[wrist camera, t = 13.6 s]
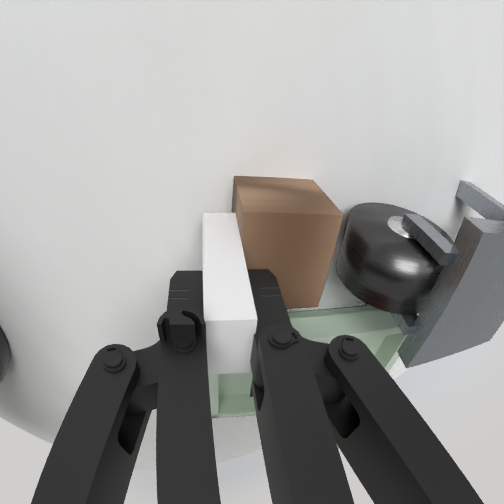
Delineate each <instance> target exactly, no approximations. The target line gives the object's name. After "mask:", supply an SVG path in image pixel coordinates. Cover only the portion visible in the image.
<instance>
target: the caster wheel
mask: <svg viewBox="0 0 504 504" xmlns="http://www.w3.org/2000/svg"><path fill="white" fill-rule="evenodd" d="M456 197H458V198H459V199H461V200H462V201H463V202H465V203H466V204H467V205H469V206H470V207H471V208H473V209H474V210H475V211H477V212H478V213H479V214H480V215H482V216H483V217H484V218H485V219H480V218H472V217H464V220H463V222H462V225H461V227H460V230H459V232H458V235H457V237H456V240H455V242H453V241H452V239H451V238H450V237H449V236H448V234H447V233H446V232H445V231H443V230H442V229H441V228H440V227H439V226H437V225H436V224H434V223H433V222H431V221H430V220H428V219H426V218H425V217H423V216H421V215H419V214H417V213H414V212H412V211H409V210H407V209H404V208H401V207H397V206H394V205H389V204H383V203H363V204H359V205H357V206H355V207H353V209H352V210H351V212H350V216H349V219H348V223H347V227H346V231H345V235H344V238H343V242H342V246H341V249H340V253H339V256H338V260H337V265H336V267H337V272H338V275H339V277H340V279H341V281H342V282H343V284H344V285H345V286H346V287H347V289H348V290H349V291H351V292H352V293H353V294H354V295H355V296H356V297H358V298H359V299H361V300H362V301H364V302H365V303H367V304H369V305H371V306H373V307H375V308H377V309H380V310H383V311H386V312H390V314H391V315H392V317H393V319H394V320H395V322H396V323H397V325H398V327H399V328H400V330H401V332H402V333H403V335H407V336H406V338H405V339H404V341H403V342H402V344H401V346H400V347H399V349H398V350H397V352H398V354H399V356H400V358H401V360H402V361H403V363H404V365H405V367H406V368H409V367H413V366H416V365H420V364H423V363H427V362H430V361H433V360H436V359H440V358H442V357H446V356H449V355H452V354H455V353H457V352H460V351H463V350H466V349H469V348H472V347H474V346H477V345H479V344H482V343H484V342H487V341H490V339H491V338H492V337H493V335H494V334H495V333H496V331H497V330H498V328H499V327H500V325H501V324H502V322H503V321H504V205H502V204H501V203H500V202H498V201H497V200H496V199H494V198H493V197H491V196H490V195H488V194H487V193H486V192H484V191H483V190H481V189H480V188H478V187H477V186H475V185H474V184H472V183H470V182H466V181H462V180H461V182H460V185H459V188H458V191H457V194H456ZM417 313H420V314H419V315H418V316H417Z"/></svg>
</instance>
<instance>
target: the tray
mask: <svg viewBox="0 0 504 504" xmlns="http://www.w3.org/2000/svg"><path fill="white" fill-rule="evenodd" d="M288 315H289V319H290V322H291V325H292V327H293V328H295V329H296V330H297V331H298V332H299V333H300V335H301V336H302V337H304V338H306V339H308V340H312V341H316V342H322V343H328V344H330V342H331V341H332V339H334V338H335V337H337V336H340V335H350V336H354V337H356V338H358V339H360V340H361V341H362V342H363V343H364V344H366V346H367V347H368V348H369V350H370V351H371V352H372V353H373V355H374V356H375V357H376V358H377V360H378V361H379V362H380V363H381V365H382V366H383V367H384V369H385V370H386V371H387V372H389V370H390V369H391V367H392V366H393V364H394V363H395V362H396V360H397V359H398V357H399V354H398V352H397V350H398V349H399V347H400V346H401V344H402V342H403V341H404V339H405V338H406V336H407V335H403V333H402V332H401V330H400V328H399V327H398V325H397V323H396V322H395V320H394V319H393V317H392V315H391V314H390V312H386V311H383V310H380V309H377V308H375V307H373V306H371V305H368V306H358V307H348V308H336V309H324V310H311V311H297V312H288ZM252 377H253V376H252V370H251V367H250V372H248V373H229V374H208V378H209V392H210V406H211V418H223V417H239V416H252V415H256V410H255V404H254V398H253V397H250V389H251V383H252Z"/></svg>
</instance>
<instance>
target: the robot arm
mask: <svg viewBox="0 0 504 504" xmlns="http://www.w3.org/2000/svg"><path fill="white" fill-rule="evenodd" d="M157 327H158V332H159V337H160V340H159V341H158V342H157V343H156V344H154V345H153V346H150V347H148V348H145V349H141V350H137V351H132V350H131V349H130V348H129V347H126V346H124V345H120V344H112V345H108V346H105V347H104V348H102V349H100V350H99V351H98V353H97V354H96V355H95V356H94V358H93V360H92V362H91V364H90V366H89V368H88V370H87V372H86V374H85V376H84V378H83V380H82V382H81V384H80V386H79V388H78V390H77V392H76V394H75V396H74V398H73V401H72V403H71V405H70V407H69V409H68V411H67V413H66V416H65V418H64V420H63V422H62V425H61V427H60V429H59V432H58V434H57V436H56V439H55V441H54V443H53V446H52V448H51V451H50V453H49V456H48V458H47V461H46V463H45V466H44V469H43V471H42V474H41V477H40V479H39V482H38V485H37V488H36V490H35V494H34V497H33V499H32V502H31V504H124V500H125V497H126V493H127V489H128V486H129V482H130V479H131V476H132V472H133V469H134V465H135V462H136V459H137V455H138V452H139V449H140V446H141V442H142V439H143V436H144V433H145V430H146V426H147V423H148V420H149V417H150V414H151V411H152V410H153V409H157V429H156V469H157V499H158V504H221V502H220V494H219V486H218V478H217V470H216V460H215V450H214V440H213V429H212V418H211V406H210V392H209V378H208V374H229V373H248V372H250V367H251V370H252V376H253V377H252V383H251V389H250V397H253V398H254V404H255V410H256V416H257V422H258V427H259V433H260V439H261V444H262V450H263V455H264V460H265V466H266V472H267V477H268V482H269V488H270V493H271V498H272V503H273V504H354V501H353V498H352V494H351V491H350V488H349V484H348V481H347V477H346V474H345V471H344V467H343V464H342V461H341V457H340V454H339V451H338V447H337V445H338V446H339V448H340V450H341V451H342V453H343V455H344V456H345V458H346V459H347V461H348V462H349V464H350V466H351V467H352V469H353V470H354V472H355V474H356V475H357V477H358V478H359V480H360V482H361V483H362V485H363V486H364V488H365V489H366V491H367V493H368V494H369V495H370V497H371V499H372V500H373V502H374V504H484V503H483V502H482V500H481V499H480V498H479V496H478V494H477V493H476V491H475V490H474V489H473V487H472V486H471V484H470V483H469V481H468V480H467V479H466V477H465V476H464V474H463V473H462V471H461V470H460V469H459V467H458V466H457V464H456V463H455V462H454V460H453V459H452V457H451V456H450V455H449V453H448V452H447V451H446V449H445V448H444V446H443V445H442V444H441V442H440V441H439V440H438V438H437V437H436V436H435V434H434V433H433V432H432V430H431V429H430V428H429V426H428V425H427V423H426V422H425V421H424V420H423V418H422V417H421V415H420V414H419V413H418V412H417V410H416V409H415V407H414V406H413V405H412V404H411V402H410V401H409V400H408V398H407V397H406V396H405V394H404V393H403V392H402V391H401V389H400V388H399V387H398V385H397V384H396V383H395V381H394V380H393V379H392V378H391V376H390V375H389V374H388V372H387V371H386V370H385V369H384V367H383V366H382V365H381V363H380V362H379V361H378V360H377V358H376V357H375V356H374V355H373V353H372V352H371V351H370V350H369V348H368V347H367V346H366V344H364V343H363V342H362V341H361V340H360V339H358V338H356V337H354V336H350V335H340V336H337V337H335V338H334V339H332V341H331V342H330V344H328V343H322V342H316V341H312V340H308V339H306V338H304V337H302V336H301V335H300V333H299V332H298V331H297V330H296V329H295V328H293V327H292V325H291V322H290V319H289V315H288V312H287V309H286V306H285V303H284V300H283V297H282V293H281V290H280V289H279V284H278V281H277V278H276V276H275V275H274V274H273V273H272V272H271V271H270V270H269V269H247V267H246V262H245V257H244V252H243V247H242V243H241V238H240V233H239V228H238V223H237V218H236V213H203V271H176V273H175V274H174V275H173V277H172V278H171V279H170V287H169V296H168V305H167V311H166V312H165V313H164V314H163V315H162V316H161V317H160V318H159V320H158V323H157ZM9 362H10V350H9V346H8V343H7V341H6V339H5V336H4V334H3V333H2V331H1V329H0V383H1V382H2V380H3V378H4V376H5V373H6V370H7V368H8V365H9ZM336 443H337V444H336Z"/></svg>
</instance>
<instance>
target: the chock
mask: <svg viewBox="0 0 504 504" xmlns="http://www.w3.org/2000/svg"><path fill="white" fill-rule="evenodd" d="M232 213H236V218H237V223H238V228H239V233H240V238H241V243H242V247H243V252H244V257H245V262H246V267H247V269H269V270H270V271H271V272H272V273H273V274H274V275H275V276H276V278H277V281H278V284H279V289H280V290H281V293H282V297H283V300H284V303H285V306H286V309H293V308H309V307H318V304H319V301H320V298H321V295H322V291H323V288H324V285H325V281H326V278H327V275H328V271H329V268H330V264H331V261H332V257H333V253H334V250H335V246H336V242H337V239H338V235H339V231H340V227H341V223H342V219H343V214H342V213H341V211H340V210H339V209H338V208H337V207H336V206H335V204H334V203H333V202H332V201H331V200H330V199H329V198H328V196H327V195H326V194H325V193H324V192H323V191H322V190H321V188H320V187H319V186H318V185H317V184H316V183H315V182H314V181H313V180H308V179H292V178H274V177H250V176H234V184H233V199H232Z"/></svg>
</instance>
